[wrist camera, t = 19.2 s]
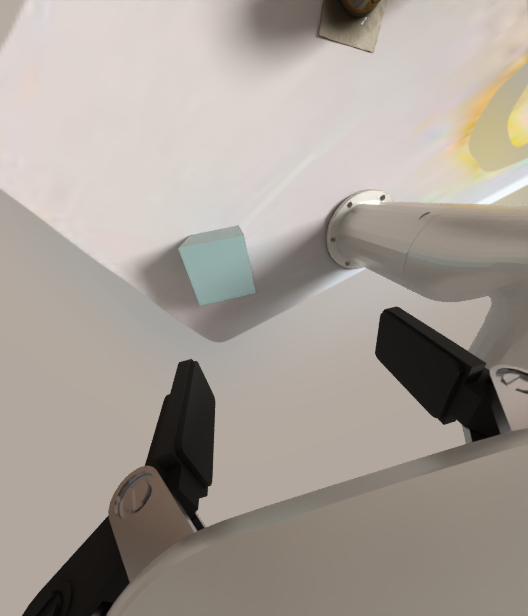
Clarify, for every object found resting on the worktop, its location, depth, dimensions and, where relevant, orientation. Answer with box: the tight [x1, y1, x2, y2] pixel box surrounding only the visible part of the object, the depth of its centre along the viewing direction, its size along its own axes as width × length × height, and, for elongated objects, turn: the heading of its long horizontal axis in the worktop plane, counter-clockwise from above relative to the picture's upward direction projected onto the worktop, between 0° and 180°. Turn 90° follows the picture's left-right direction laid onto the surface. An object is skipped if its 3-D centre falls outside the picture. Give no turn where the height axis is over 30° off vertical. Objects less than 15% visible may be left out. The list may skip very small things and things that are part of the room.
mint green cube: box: [178, 226, 256, 306], centre depth 29 cm, size 8×8×9 cm
